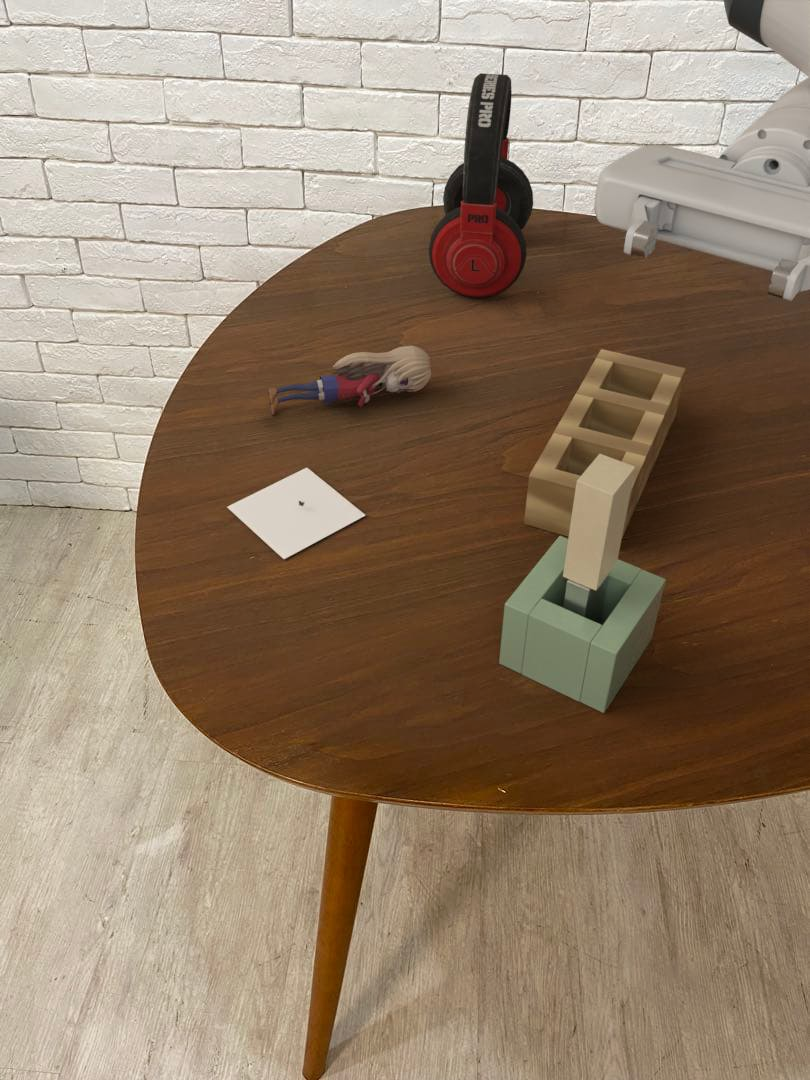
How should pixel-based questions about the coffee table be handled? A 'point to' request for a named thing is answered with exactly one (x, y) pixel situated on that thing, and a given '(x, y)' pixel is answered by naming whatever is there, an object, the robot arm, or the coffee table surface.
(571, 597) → the knife
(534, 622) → the holder
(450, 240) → the headphones
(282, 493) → the white flat sheet
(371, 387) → the figurine
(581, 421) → the rack
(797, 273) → the robot arm
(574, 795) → the coffee table surface
